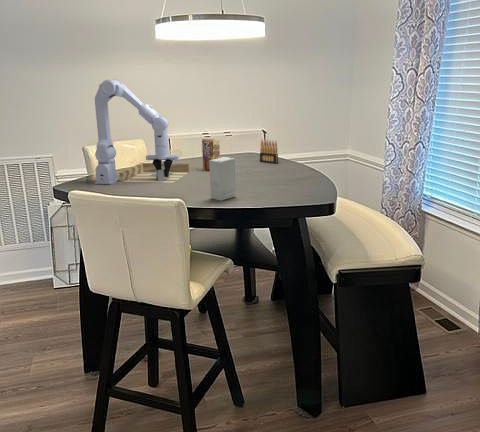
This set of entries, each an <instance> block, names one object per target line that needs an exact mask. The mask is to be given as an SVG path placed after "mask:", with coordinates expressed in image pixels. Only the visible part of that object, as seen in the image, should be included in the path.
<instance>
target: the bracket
mask: <svg viewBox="0 0 480 432" xmlns="http://www.w3.org/2000/svg"><path fill="white" fill-rule="evenodd" d="M169 178H170V170H169V176H168V177H166V176H165V167H161V168H160V169H159V170H158V172H157V170H156V179H158V181H163V182H164V181H166V180H167V179H169Z"/></svg>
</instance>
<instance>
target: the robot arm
mask: <svg viewBox="0 0 480 432" xmlns="http://www.w3.org/2000/svg"><path fill="white" fill-rule="evenodd" d="M114 97H120V98H123V99H125V100H126V101H128V102H129V103H130V104H131V105H132V106H133V107H135V108H136V109H137V110H138V115H139V116H140V117H142V118H143V119H144V120H145V121H146V122H147V123H148V124H149V125H151V128H152V130H153V133H154V135H153V136H154V137H153V138H154V150H155V151H154V154H150V155H149V154H147V155H145V161H152V163H153V164H154V166H155V168H156V170H157V172H158V170H159V169H160V168H161V163H164V166H165V176H166V177H168V176H169V170H170V167H171V164H172V163H173V162H174V161H175V162H176V161H180V155H175V154H174V155H173V154H170V152H169V151H170V149H169V134H168V127H169V121H168V119H167V118H166V117H165V116H162V114H161V113H158V112H157V110H155V108H154V106H153V105H152V104H149V103H143V102H142V101H141V100H140V99H139V98H138V97H137V95H135V94H134V93H133V92H132V91H131V90H130V89H129V88H128V87H127V86H126V85H125V84H123V83H122V82H121V81H120V80H119V79H105V80H104V81H102V82H101V83H100V84H99V85H98V89H97V92H96V94H95V96H94V106H95V118H96V119H95V120H96V126H97V127H96V128H97V129H96V130H97V138H98V140H97V143H96V151H95V154H94V157H95V159H96V160H97V166H96V167H95V170H94V171H95V172H94V173H95V179H96V181H95V182H94V184H95V185H112V184H115V183H116V182H119V181H120V178H118V177H117V171H116V170H117V169H116V167H117V166H116V160H115V157H116V155H117V150H116V148H115V147H114V141H113V140H112V135H111V125H110V113H109V104H108V102H110V100H112V99H113V98H114ZM162 161H163V162H162Z"/></svg>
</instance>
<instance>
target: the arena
mask: <svg viewBox="0 0 480 432" xmlns="http://www.w3.org/2000/svg"><path fill="white" fill-rule="evenodd" d="M161 167H165V166H164V162H162V163H161ZM189 173H190V163H180V162H179V163H175V162H174V163H173V162H172V164H171V167H170V178H169V179H167V180H166V181H164V182H163V181H158V179H156V168H155V166H154V164H153V162H140V163H138V164H135V165H133V166H131V167H128V168H127V169H124V170H122V171H120V172H119V179H120V180H119V182H120V183H166V184H169V183H170V184H171V183H172V184H173V183H175V182H177V181H178V180H180V179H181V178H182V177H185V176H186V175H187V174H189Z"/></svg>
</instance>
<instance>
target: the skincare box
mask: <svg viewBox="0 0 480 432" xmlns="http://www.w3.org/2000/svg"><path fill="white" fill-rule="evenodd" d="M209 167H210V172H209V184H210V185H209V189H210V198H211V199H214V200H217V201H224V200H228V199H232V198H235V197H236V196H237V193H236V192H237V191H236V190H237V188H236V185H237V184H236V159H235V157H233V158H232V157H227V156H222V157H220V158H218V159H213V160H209Z"/></svg>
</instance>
